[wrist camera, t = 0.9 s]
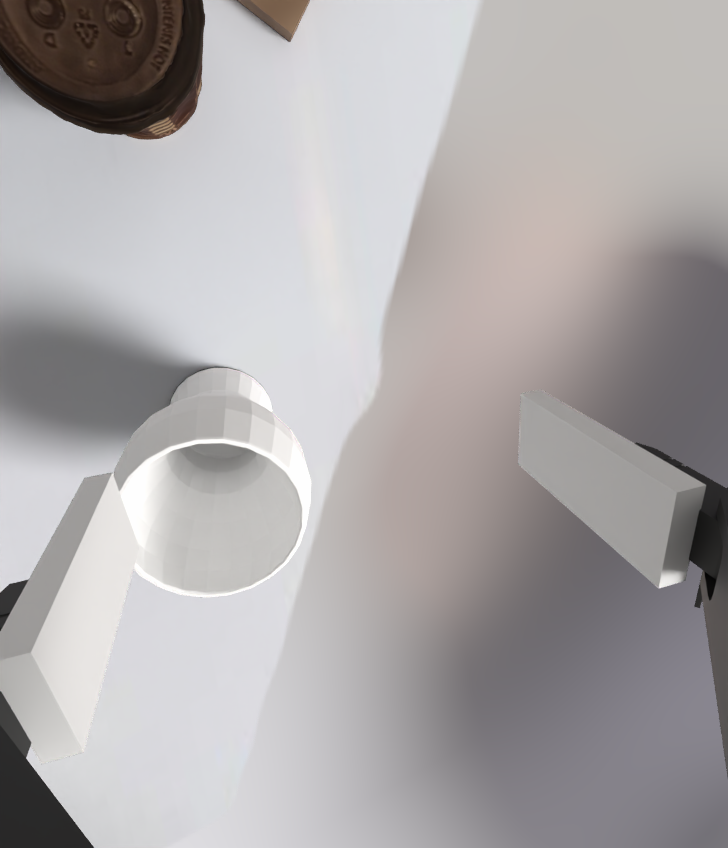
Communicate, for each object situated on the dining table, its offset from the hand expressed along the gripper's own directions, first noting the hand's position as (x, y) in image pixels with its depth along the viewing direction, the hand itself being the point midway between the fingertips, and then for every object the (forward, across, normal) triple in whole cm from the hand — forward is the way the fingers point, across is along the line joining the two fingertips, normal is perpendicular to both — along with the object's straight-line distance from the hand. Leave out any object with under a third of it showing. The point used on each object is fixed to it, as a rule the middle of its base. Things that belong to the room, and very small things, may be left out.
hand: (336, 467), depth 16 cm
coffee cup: (+24, -5, +16) cm, 29 cm away
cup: (+24, -5, -6) cm, 25 cm away
